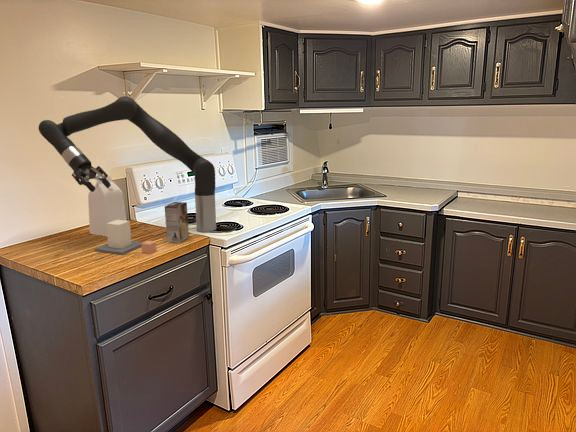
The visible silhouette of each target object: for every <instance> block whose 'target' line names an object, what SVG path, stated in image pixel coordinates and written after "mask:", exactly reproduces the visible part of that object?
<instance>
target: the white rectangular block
mask: <svg viewBox="0 0 576 432" xmlns="http://www.w3.org/2000/svg"><path fill="white" fill-rule="evenodd" d="M106 227H107V236H106V237H107V243H108V246H109V247H113V248H120V249H122V248H124V247H126V246H129V245H131V244H132V241H133V240H132V232H131V231H132V230H131V222H130V220H127V221H125V220H115V221H112V222H109V223H106Z"/></svg>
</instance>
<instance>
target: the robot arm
mask: <svg viewBox="0 0 576 432" xmlns="http://www.w3.org/2000/svg"><path fill="white" fill-rule="evenodd" d="M125 120H127V121H129V122H131V123H132V124H133V125H134V126H136V127H138V129H140V130H141V131H142V132H143V134H144V135H145V136H146V137H147V138H148V139H149V140H150V141H151V142H152V143H153V144H154V145H155V146H156V147H157V148H159V149H160V150H162V151H163V152H164V153H166V154H167V155H169V156H170V157H172V158H173V159H176V160H178V161H180V162H181V163H182V164H183V165H185V167H186V168H188V169H189V170H190V171H191V172H192V173H193V175H194V202H195V206H194V207H195V223H196V227H195V228H196V231H197V232H200V233H209V232H215V231H216V230H217V217H216V216H217V215H216V214H217V213H216V212H217V211H216V170H215V169H216V168H215V166H214V164H213V163H212V162H211V161H209V160H208V159H206V158H204V157H203V156H202V155H200V154H198V153H197V152H196V151H194V150H193V149H191V148H190V147H189V146H188V144H187V143H185V141H184V140H183V139H182V138H181V137H179V136H178V134H176V133H175V132H174V131H172V130H171V129H170V128H168V127H167V126H166V125H164V124H163V123H162V122H160V121H158V120H157V119H156V118H154V117H153V116H151V114H149V113H148V112H147V111H146V110H144V109H143V107H141V105H140V104H138V102H136V101H135V100H134V99H133V98H132V97H130V96H128V95H127V96H120V97H119V98H116V99H115V101H113V102H111V103H110V104H109V103H108V104H107V105H105V106H102V107H99V108H96V109H91V110H86V111H82V112H78V113H75V114H72V115H68V116H66V117H63V119H62V122H60V123H56V122H54V121H53V120H50V119H44V120H42V121H40V123H39V125H38V132H39V134H41V136H42V137H43V138H44V139H45V140H46V141H47V142H48V143H49V144H50V145H51V146H52V147H53V148H54V149H55V150H56V152H57V153H58V154H59V155H60V156H61V157H62V159H63V161H64V162H65V163H66V164H67V165H68V167H70V168H71V170H72V171H73V172H72V174H71V176H72V178H73V179H74V180H75V181H76V182H77V184H78V185H79V186H85V187H86V188H87V189H88V190H89V192H90V191H91V192H94V190H95V189H96V188H95V187H94V186H95V185H93V183H92V182H91V181H90V180H96V181H97V180H100V181H102V183H103V184H104V185H105V187H106V188H109V187H110V186H111V184H110V183H109V182H108V180H107V179H106V178H107V177H108V176H109V174H107V172H106V171H105V170H104V169H103V168H102V167H101V166H99V165H97V167H94V166H92V162H91V160H90V159H89V158H88V157H87V156H86V155H85V154H84V152H83V151H82V150H81V149H80V148H79V147H78V146H77V145H76V144H75V143H74V141H72V140H71V139H70V138H69V137H70V136H71V135H72V134H75V133H79V132H81V131H84V130H88V129H91V128H93V127H96V126H100V125H102V124H103V125H104V124H106V123H111V122H118V121H125ZM99 177H101V178H102V179H101V178H99ZM214 230H215V231H214Z"/></svg>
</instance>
